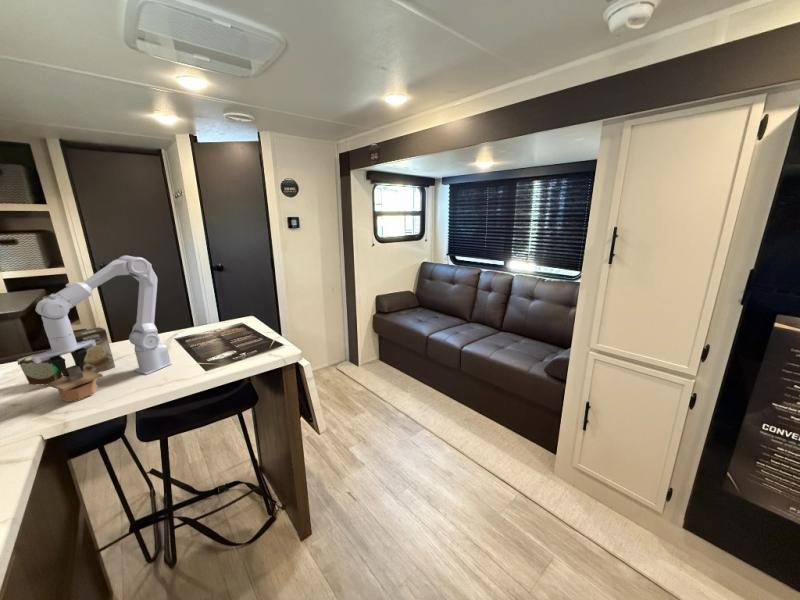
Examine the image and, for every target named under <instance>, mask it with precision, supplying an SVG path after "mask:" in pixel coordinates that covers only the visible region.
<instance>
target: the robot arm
mask: <svg viewBox="0 0 800 600" xmlns="http://www.w3.org/2000/svg"><path fill="white" fill-rule="evenodd" d="M152 266H153V265H152V263H150V262H149V261H148V260H147V259H145V258H144V257H141V256H132V255H128V254H127V255H122V256H120V257H119V258H118V259H114V260H112V261H111V262H110V263H108V264H107V265H106V266H104V267H103V268H101V269H100V270H98V271H97V272H95V273H94V274H92V275H91V276H90V277H88V278H87V279H85V280H84V281H82V282H80V281H74V282H73V283H71V282H68V283H66V284H65V287H64V288H63V289H61V290H59V291H58V292H56V293H51V294H50V295H49V298H43V299H41V300H39V301H38V302H37V304H36V306H35V309H34V310H35V312H36V313H37V315H40V316H41V320H42V322H43V327H44V331H45V333H46V336H47V338H48V343H49V345H50V348H51V349H49V350H47V351H45V352H42V354H41V353H38V354H39V355H36V356H33V357H32V359H33V361H34V363H41V361H45V360H48V361H50V362H51V363H52V364H54V365H55V366H56V367H57V368H58V369H59V370H60V372H61V373H62V377H68V376H69V373H68V371H67V368H68V367H67V364H66V359H65V358H63V355H64V356H65V355H67V354H70V355H71V356H72V359H73V361H74V365H76V366H80V368H81V371H83V363H84V359H85V356H86V354H87V350H85V349H84V348H87V347H90V346H96V343H95V340H92V339H91V340H87V341H83V342H78V343H77V342H76V339H75V336H74V333H75V332H74V330H73V326H72V323H71V320H70V319H69V316H68V314H69V312H70V310H71V309H72V308H74V307H75V306H77V305H78V304H80V303H82V302H83V301H84V300H86V299H88V298H89V297H91V296H92V292H93V290H94V289H96V288H98V287H99V286H101V285H103V284H104V283H106V282H109V280H111V279H113V278H115V277H117V276H128V275H129V276H132V277H133V278H134V279H135V280H137V281H138V282H139V284H138V296H137V298H138V299H137V308H136V309H137V311H136V313H137V314H136V322H135V324H134V325H133V326H132V331H131V333H130V334H129V336H128V340H129V342H130V344H132V345H134V348H133V349H134V353H135V358H136V361H137V365H138V367H137V368H134V371H135V372H137V373H141V374H142V375H149V374H151V373H155V372H156V371H159V370H161V369H163V368H166V367H168V366H170V365H172V361H171V357H170V353H169V350H168V348H167V345H166V344H165V343H163V342H161V341H160V340H161V339H160V336H159V334H158V333H159V332H158V329H157V326H156V325H155V319H156V318H155V317H156V305H157V294H158V293H157V292H158V282H159V281H158V276H157V274H156V273H155V271H154V269H153V267H152Z"/></svg>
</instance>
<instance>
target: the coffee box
mask: <svg viewBox="0 0 800 600" xmlns="http://www.w3.org/2000/svg"><path fill="white" fill-rule="evenodd" d="M73 333H74V336H75V339H76V342H77V343H78V342H83V341H87V340H91V339H92V340H95V343H96V346H90V347H87V348H84V349H85V350H87V354H86V356H85V359H84V363H83V371H84V370H86V369H87V370H90V371H93V372H96V373H101V372H105V371H107V370H110V369H114V368H116V364H115V361H114V357H113V353H112V349H111V345H110V342H109V339H108V335H107V329H105V328H103V327H100V326H98V327H94V328H93V327H92V328H89V329H84V330H80V331H76V332H75V331H74V332H73ZM113 367H114V368H113Z"/></svg>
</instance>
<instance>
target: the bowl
mask: <svg viewBox="0 0 800 600" xmlns="http://www.w3.org/2000/svg"><path fill="white" fill-rule="evenodd" d="M97 389H98V386H97V381H96V379H94V380H92V381H89V382H87V383H84V384H81V385H79V386H76V387H74V388H71V389H68V390H66V391H61V390H59V389H57V390H58V393H59V395H60V399H61V400H64V401H66V402H75V400H77V401H79V399H81V400H83V398H84V399H86V398H88V397H90V396H92V395H93V394H94V393H95V392H96V390H97ZM94 391H95V392H94ZM91 394H92V395H91ZM89 395H90V396H89ZM87 396H88V397H87ZM85 397H86V398H85Z"/></svg>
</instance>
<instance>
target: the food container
mask: <svg viewBox="0 0 800 600" xmlns="http://www.w3.org/2000/svg"><path fill="white" fill-rule="evenodd" d="M42 353H43V352H42ZM42 353H37V354H36V353H35V354H32V355H29V356H24V357H22V358H19V359H17V362H16V363H17V365H18V366H20V369H21V370H22V373H23V374H24V377H25V378H26V380H27V382H28V384H29V386H39V384H40V386H42V385H41V384H44V385H45V386H47V385H46V384H47V383H50V382H53V381H56V380H58V379H61V378H63V375H62V373H61V372H60V370H59V369H58V368H57V367H56V366H55V365H54V364H52V363H51V362H50V361H48V360H45V361H41V363H34V361H33V359H32V357H33V356H36V355H39V354H42ZM37 384H38V385H37ZM44 385H43V386H44Z"/></svg>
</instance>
